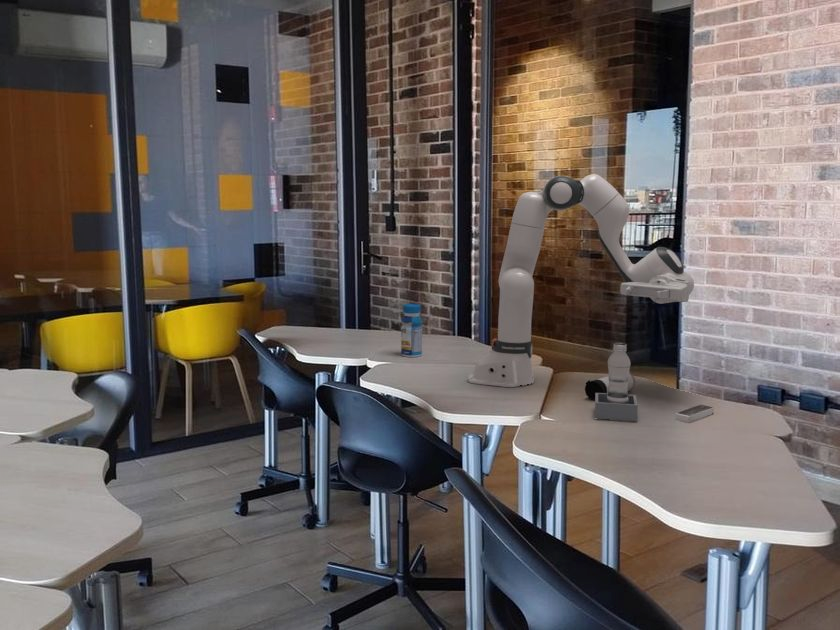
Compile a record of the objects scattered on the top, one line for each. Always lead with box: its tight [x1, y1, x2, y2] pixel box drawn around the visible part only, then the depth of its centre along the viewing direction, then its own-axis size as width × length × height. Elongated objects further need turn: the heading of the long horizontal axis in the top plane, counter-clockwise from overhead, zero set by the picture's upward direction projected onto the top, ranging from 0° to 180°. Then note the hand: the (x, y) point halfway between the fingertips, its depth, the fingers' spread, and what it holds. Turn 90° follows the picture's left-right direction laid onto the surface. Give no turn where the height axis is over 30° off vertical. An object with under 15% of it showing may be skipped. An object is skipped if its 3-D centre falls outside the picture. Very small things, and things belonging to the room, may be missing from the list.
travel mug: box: [584, 371, 636, 401], centre depth 254 cm, size 6×7×20 cm
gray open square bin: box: [594, 393, 639, 422], centre depth 232 cm, size 12×12×5 cm
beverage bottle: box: [400, 303, 424, 358], centre depth 311 cm, size 8×8×20 cm
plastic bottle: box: [606, 342, 631, 404], centre depth 231 cm, size 6×7×20 cm
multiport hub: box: [674, 404, 715, 424], centre depth 231 cm, size 4×14×2 cm, turn 133°
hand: (641, 293), depth 240 cm, fingers open, 8 cm apart
